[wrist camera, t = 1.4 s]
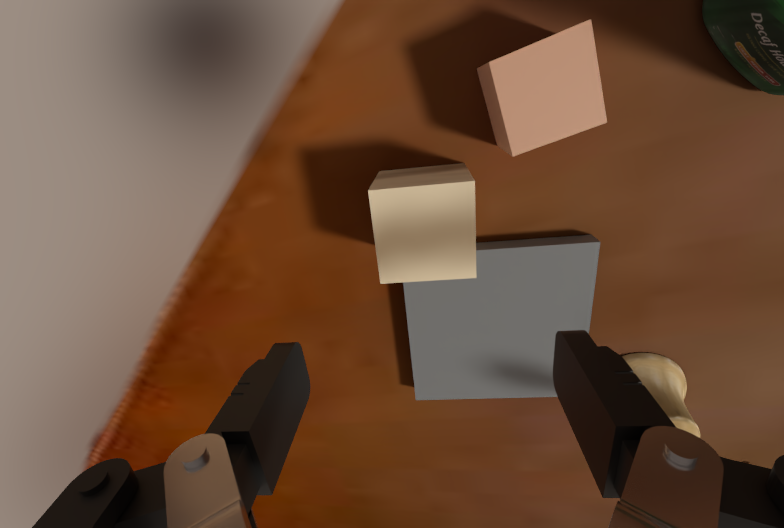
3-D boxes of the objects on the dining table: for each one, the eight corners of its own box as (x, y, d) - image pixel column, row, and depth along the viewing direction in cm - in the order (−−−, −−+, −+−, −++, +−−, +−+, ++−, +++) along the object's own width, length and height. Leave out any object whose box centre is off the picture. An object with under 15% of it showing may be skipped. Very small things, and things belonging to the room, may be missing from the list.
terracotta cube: (476, 68, 24) (488, 62, 19) (557, 34, 22) (591, 18, 18) (496, 145, 25) (512, 156, 21) (572, 117, 24) (607, 122, 20)
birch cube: (379, 171, 27) (367, 190, 21) (464, 162, 26) (474, 180, 21) (388, 248, 29) (380, 283, 24) (466, 242, 28) (476, 277, 23)
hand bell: (638, 335, 30) (833, 552, 16) (706, 385, 32) (940, 626, 17) (562, 395, 34) (668, 623, 19) (627, 438, 35) (770, 679, 21)
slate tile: (401, 248, 29) (400, 255, 28) (591, 234, 27) (600, 241, 26) (416, 388, 34) (415, 400, 33) (574, 383, 33) (580, 396, 32)
